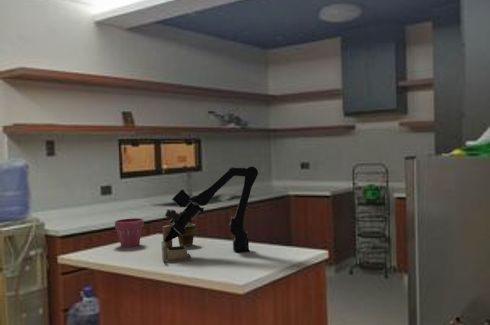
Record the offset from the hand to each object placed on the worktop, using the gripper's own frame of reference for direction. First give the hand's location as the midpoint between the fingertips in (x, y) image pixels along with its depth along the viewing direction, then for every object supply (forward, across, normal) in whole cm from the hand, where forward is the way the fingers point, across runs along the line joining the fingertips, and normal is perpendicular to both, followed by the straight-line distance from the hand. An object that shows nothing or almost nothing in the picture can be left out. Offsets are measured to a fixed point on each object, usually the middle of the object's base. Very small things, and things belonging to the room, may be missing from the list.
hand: (164, 240), depth 217 cm
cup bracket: (+2, +10, +8) cm, 13 cm away
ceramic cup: (-2, -19, +12) cm, 23 cm away
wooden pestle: (+4, 0, +6) cm, 7 cm away
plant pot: (+16, -31, -6) cm, 35 cm away
